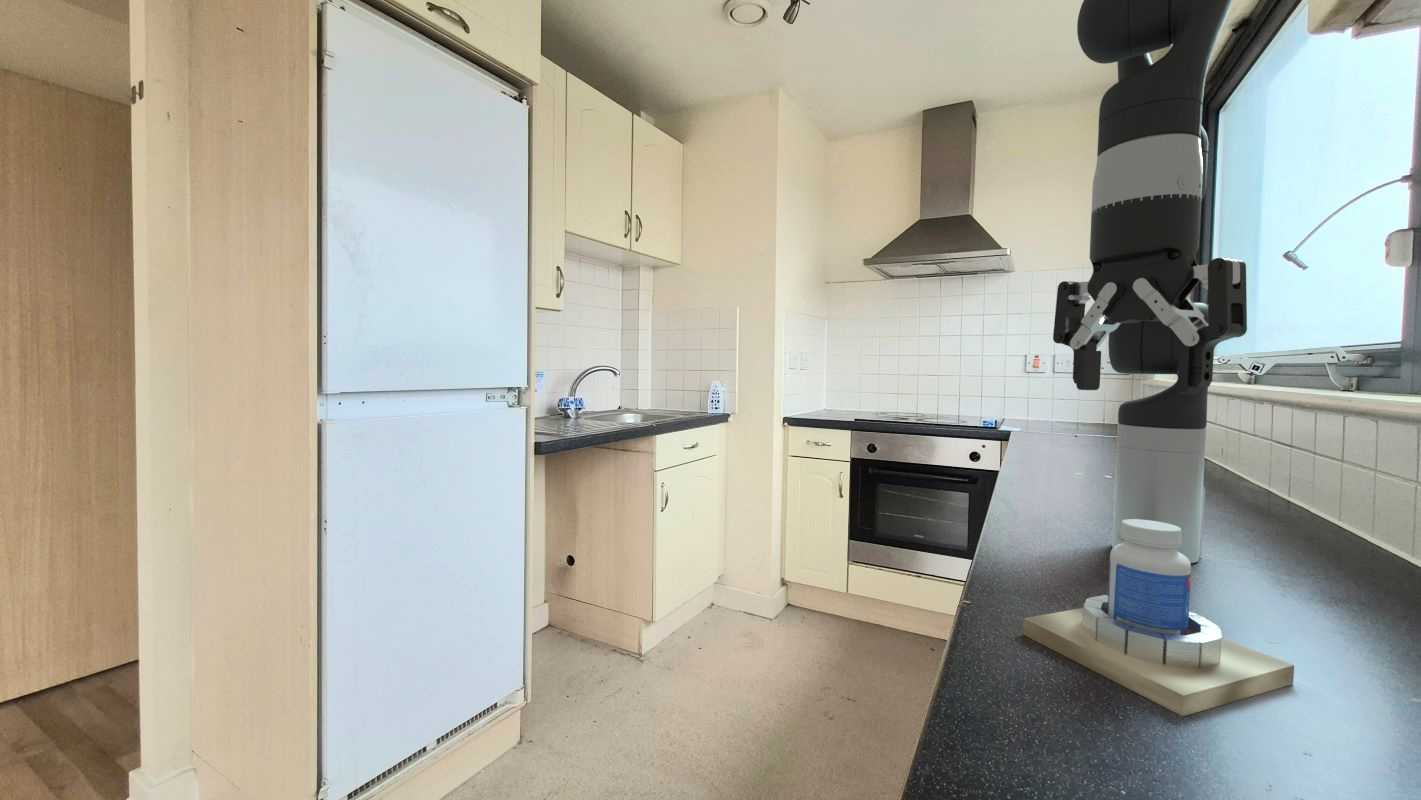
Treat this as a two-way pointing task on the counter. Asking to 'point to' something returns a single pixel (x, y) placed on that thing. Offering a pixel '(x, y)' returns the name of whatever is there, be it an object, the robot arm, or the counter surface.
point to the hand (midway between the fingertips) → (1134, 391)
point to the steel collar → (1154, 638)
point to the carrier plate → (1164, 667)
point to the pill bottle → (1150, 578)
